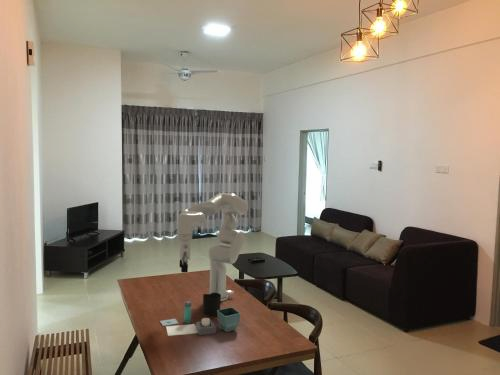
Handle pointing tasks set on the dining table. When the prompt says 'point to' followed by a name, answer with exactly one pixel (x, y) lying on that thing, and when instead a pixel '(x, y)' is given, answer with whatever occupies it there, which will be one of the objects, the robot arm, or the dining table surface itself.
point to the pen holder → (211, 304)
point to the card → (169, 322)
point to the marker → (187, 312)
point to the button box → (205, 328)
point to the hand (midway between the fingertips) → (183, 269)
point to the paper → (181, 330)
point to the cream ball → (205, 322)
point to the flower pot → (228, 318)
